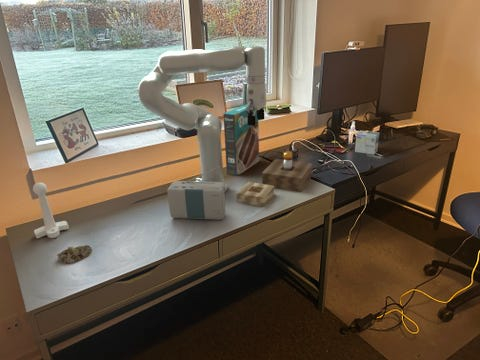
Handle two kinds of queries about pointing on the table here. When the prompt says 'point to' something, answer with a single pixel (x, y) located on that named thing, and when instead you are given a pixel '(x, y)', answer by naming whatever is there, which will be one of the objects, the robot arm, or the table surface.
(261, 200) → the stand
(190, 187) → the stereo radio cassette player
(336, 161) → the hacksaw
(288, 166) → the orange capped bottle
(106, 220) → the table surface
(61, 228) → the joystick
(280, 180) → the block
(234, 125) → the cake mix box
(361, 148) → the light bulb box
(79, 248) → the mineral rock
